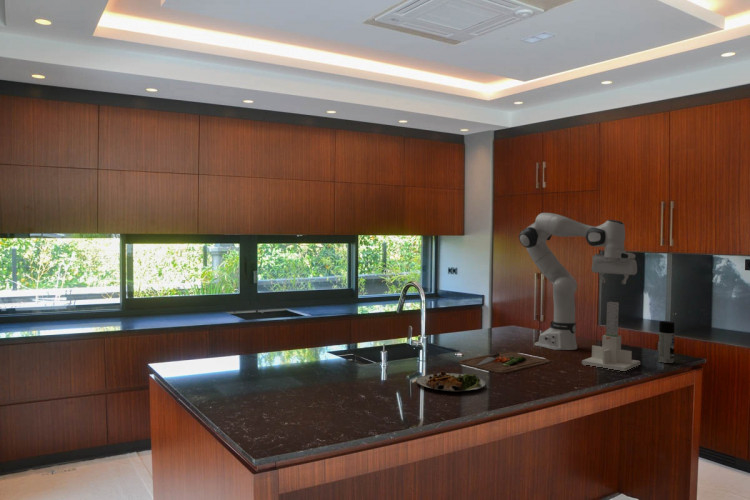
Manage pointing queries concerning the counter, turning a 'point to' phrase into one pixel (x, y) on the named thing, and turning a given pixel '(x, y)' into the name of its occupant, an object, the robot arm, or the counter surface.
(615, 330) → the column
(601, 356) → the stand
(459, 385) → the plate of food
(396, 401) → the counter surface
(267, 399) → the counter surface
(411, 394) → the counter surface
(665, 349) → the spray can
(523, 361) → the chopping board
